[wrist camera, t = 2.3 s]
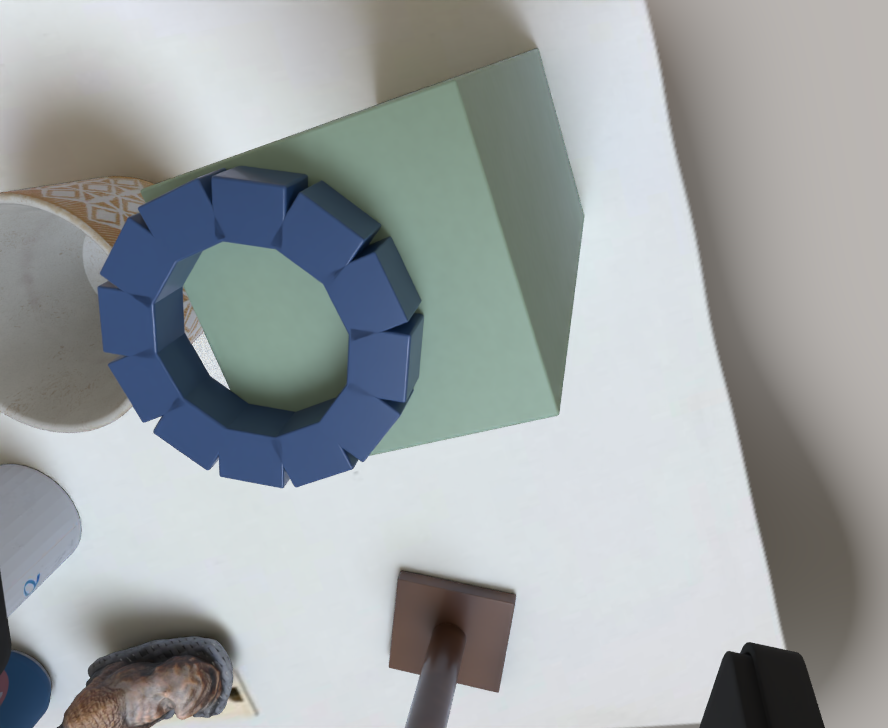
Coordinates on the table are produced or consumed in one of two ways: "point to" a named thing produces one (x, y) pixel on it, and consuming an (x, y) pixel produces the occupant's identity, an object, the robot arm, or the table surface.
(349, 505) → the table surface
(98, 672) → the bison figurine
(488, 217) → the block
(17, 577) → the mug
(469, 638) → the stand
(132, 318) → the ring
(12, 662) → the soda can
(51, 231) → the planter
